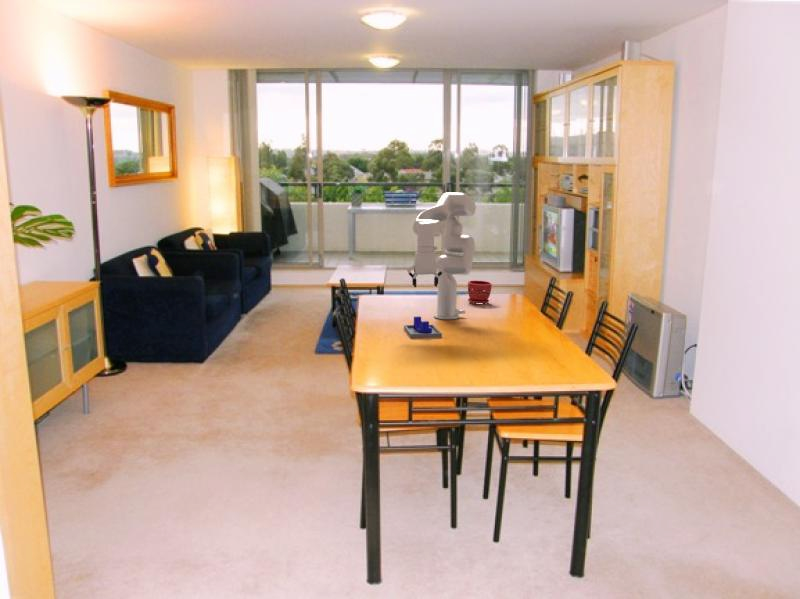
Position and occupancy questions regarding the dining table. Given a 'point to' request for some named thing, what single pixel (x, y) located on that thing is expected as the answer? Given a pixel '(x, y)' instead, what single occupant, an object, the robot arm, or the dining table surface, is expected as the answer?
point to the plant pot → (479, 291)
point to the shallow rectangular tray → (415, 334)
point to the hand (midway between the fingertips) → (425, 286)
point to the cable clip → (421, 325)
